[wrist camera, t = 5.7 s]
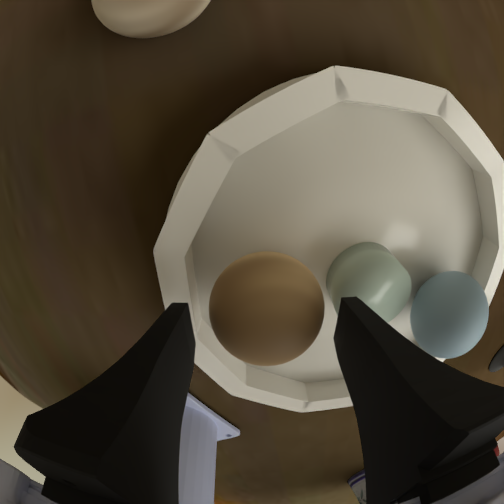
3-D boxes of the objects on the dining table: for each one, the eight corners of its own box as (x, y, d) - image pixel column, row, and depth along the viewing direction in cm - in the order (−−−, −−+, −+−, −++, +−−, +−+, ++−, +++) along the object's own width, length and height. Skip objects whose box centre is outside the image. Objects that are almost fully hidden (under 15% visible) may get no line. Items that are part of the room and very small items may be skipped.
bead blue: (404, 333, 15) (435, 388, 11) (388, 282, 13) (428, 341, 9) (462, 297, 14) (500, 343, 10) (455, 241, 12) (506, 285, 8)
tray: (279, 413, 19) (281, 441, 17) (93, 212, 12) (65, 234, 10) (493, 299, 15) (512, 319, 13) (429, 26, 8) (462, 16, 6)
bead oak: (291, 321, 14) (312, 390, 10) (203, 310, 13) (199, 384, 10) (320, 243, 12) (361, 302, 9) (220, 223, 12) (220, 284, 8)
